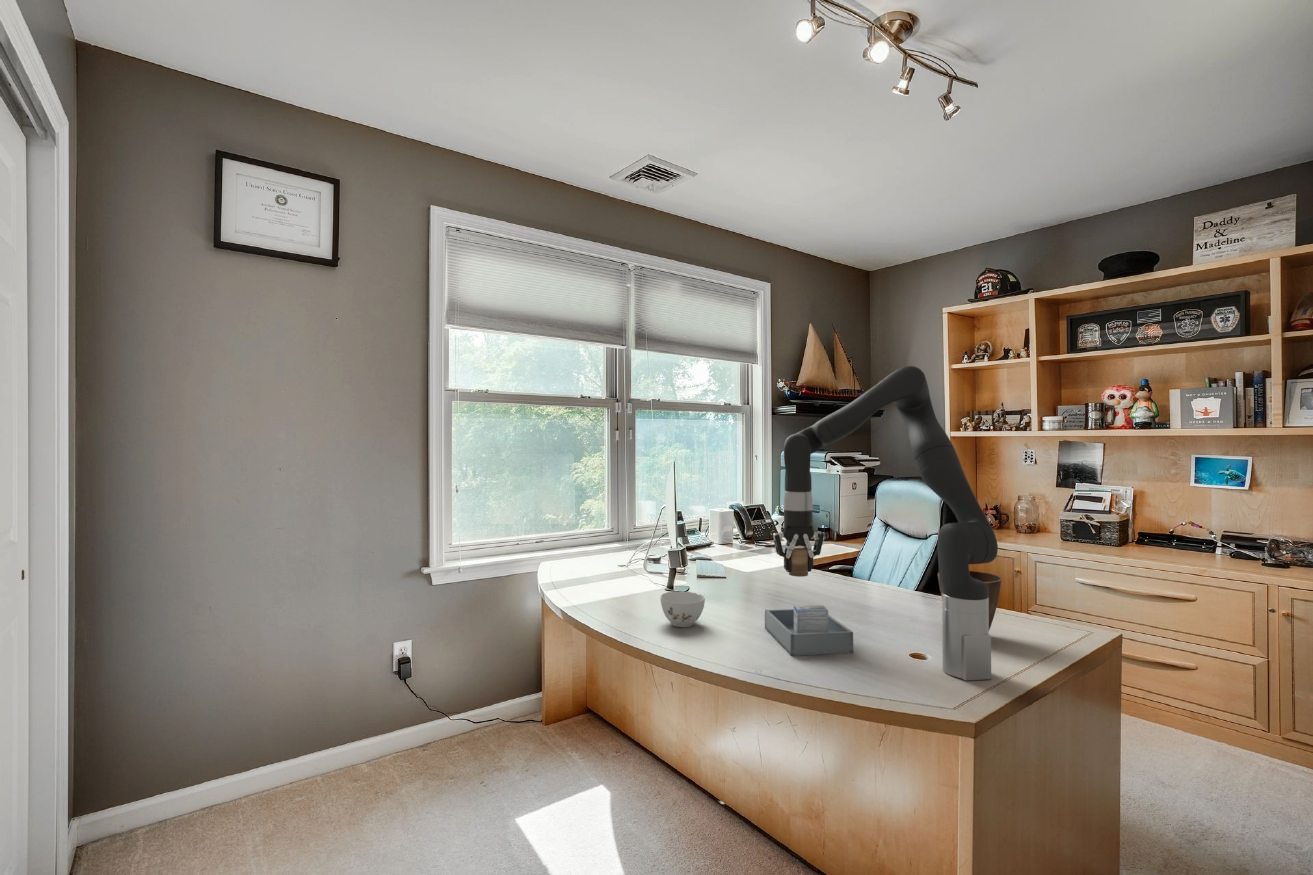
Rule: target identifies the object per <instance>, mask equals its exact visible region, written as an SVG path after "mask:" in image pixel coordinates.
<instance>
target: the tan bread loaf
mask: <svg viewBox="0 0 1313 875" xmlns="http://www.w3.org/2000/svg"><path fill="white" fill-rule="evenodd" d="M790 558H791V572H788V575H789V576H792V577H801V578H803V577H808V576H809V572H808V550H807V549H806V548H804V547H803V546H795V547H794V549H793V551H792V553H791V556H790Z"/></svg>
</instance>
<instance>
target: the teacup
mask: <svg viewBox="0 0 1313 875" xmlns="http://www.w3.org/2000/svg"><path fill="white" fill-rule="evenodd" d="M659 599H660V605H661V609H662V611H663V614H664V616H665V618H666V619H667V620H668V621H669V622H670V624H671V625H672V626H674V627H677V628H690V627H693V625H694V624H695V623H696V622H697V621H698V620H699V618H700V617H701V616H702V613H703V610H704V608H705V602H706V597H705V595H702V594H698V593H696V592H692V591H676V590H674V591H668V592H664V593H661V595H660V598H659Z"/></svg>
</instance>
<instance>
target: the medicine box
mask: <svg viewBox="0 0 1313 875" xmlns="http://www.w3.org/2000/svg"><path fill="white" fill-rule="evenodd" d="M793 609H794V634H796V633H820V632H828V614H829V610H828V609H827V607H825V605H818V604H817V605H814V604H812V605H809V604H806V605H805V604H804V605H801V604H799V605H793Z"/></svg>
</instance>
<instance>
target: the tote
mask: <svg viewBox="0 0 1313 875" xmlns="http://www.w3.org/2000/svg"><path fill="white" fill-rule="evenodd" d="M764 629H765V630H766V631H767V632H768V633H769V634H770V635H771V636H772V638H773V639H774V640H775V641H776V642H778V644H780V646H781V647H782V648H783V649H784V650H785V651H786V652H787V653H788V655H790V656H793V657H794V656H811V655H813V656H814V655H833V654H834V655H836V654H838V655H839V654H853V653H854V632H853V630H851V629H850V628H848V627H846V626H845V625H843V624H842V623H841V622H840V621H838V620H837V619H835V618H834V617H833V616H832V615H831V614H829V613H828V632H820V633H796V634H794V608H790V609H789V608H784V609H764Z"/></svg>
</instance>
